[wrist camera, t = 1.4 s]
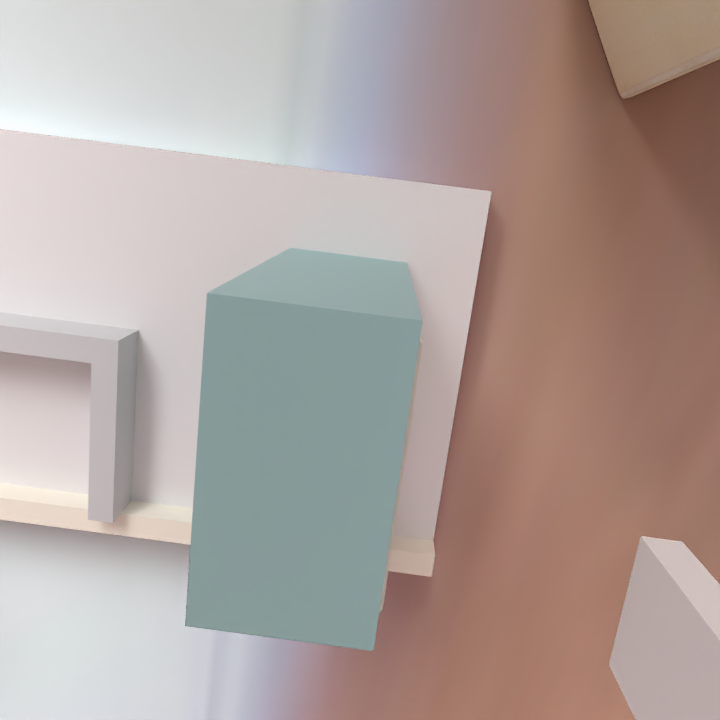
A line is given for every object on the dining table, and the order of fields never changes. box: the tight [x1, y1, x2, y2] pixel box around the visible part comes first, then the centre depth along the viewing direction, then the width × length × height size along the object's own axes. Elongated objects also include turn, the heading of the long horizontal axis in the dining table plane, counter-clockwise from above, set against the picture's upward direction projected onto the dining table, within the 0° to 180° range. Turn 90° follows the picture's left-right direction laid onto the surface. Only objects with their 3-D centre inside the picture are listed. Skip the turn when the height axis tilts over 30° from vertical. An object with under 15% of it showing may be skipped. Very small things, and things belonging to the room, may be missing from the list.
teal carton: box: [185, 248, 423, 651], centre depth 20 cm, size 5×8×12 cm, turn 173°
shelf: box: [0, 129, 492, 577], centre depth 26 cm, size 16×36×4 cm, turn 83°
